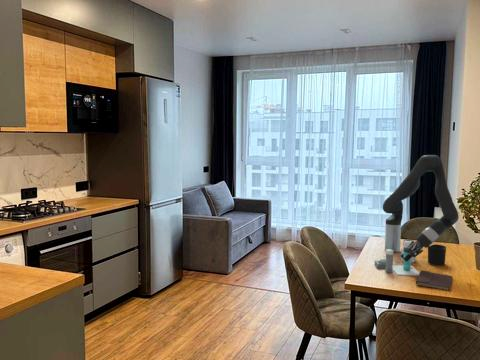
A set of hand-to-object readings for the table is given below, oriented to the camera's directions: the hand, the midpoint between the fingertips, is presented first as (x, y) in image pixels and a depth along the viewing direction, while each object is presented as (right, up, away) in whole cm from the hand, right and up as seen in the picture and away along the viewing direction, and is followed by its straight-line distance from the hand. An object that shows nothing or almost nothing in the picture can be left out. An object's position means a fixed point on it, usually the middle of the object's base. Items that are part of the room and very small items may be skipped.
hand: (403, 258), depth 228 cm
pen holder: (+24, -6, +14) cm, 29 cm away
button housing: (-8, -6, +8) cm, 13 cm away
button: (-8, -4, +8) cm, 13 cm away
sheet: (+1, -7, 0) cm, 7 cm away
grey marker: (-8, -7, -2) cm, 11 cm away
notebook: (+8, -8, -18) cm, 22 cm away
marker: (+2, -6, 0) cm, 6 cm away
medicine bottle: (+11, -5, +21) cm, 24 cm away
